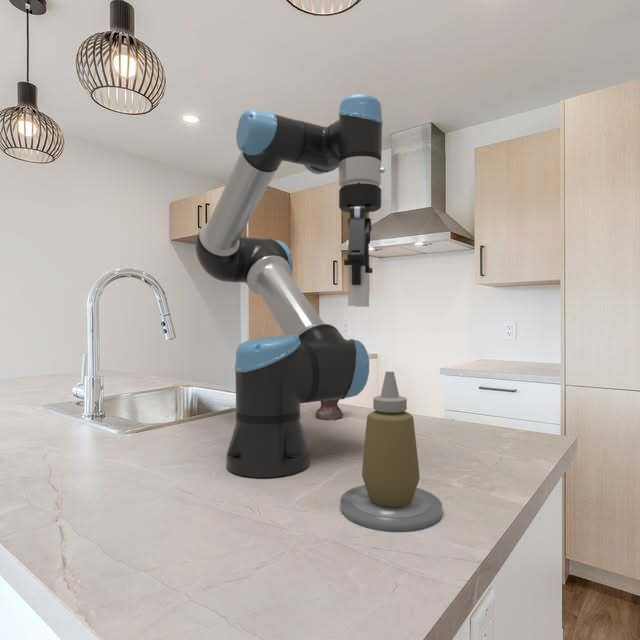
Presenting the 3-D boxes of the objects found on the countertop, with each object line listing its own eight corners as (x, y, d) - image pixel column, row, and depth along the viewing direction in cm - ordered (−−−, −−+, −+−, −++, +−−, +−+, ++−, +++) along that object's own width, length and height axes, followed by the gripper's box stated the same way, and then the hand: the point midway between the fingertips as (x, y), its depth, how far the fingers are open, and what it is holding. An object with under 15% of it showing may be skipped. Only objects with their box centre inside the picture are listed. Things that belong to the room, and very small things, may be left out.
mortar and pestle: (298, 415, 126) (298, 343, 126) (319, 411, 132) (318, 341, 132) (331, 422, 118) (330, 344, 118) (351, 416, 125) (350, 343, 125)
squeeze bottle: (358, 490, 68) (357, 369, 68) (412, 489, 68) (411, 368, 68) (366, 513, 60) (364, 375, 60) (427, 511, 60) (426, 375, 60)
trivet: (337, 529, 58) (337, 520, 58) (342, 488, 72) (342, 481, 72) (451, 533, 57) (451, 524, 57) (433, 491, 71) (433, 484, 71)
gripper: (379, 164, 69) (378, 305, 70) (382, 203, 94) (382, 306, 94) (330, 166, 70) (329, 305, 71) (346, 204, 95) (345, 306, 95)
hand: (359, 306), depth 82 cm, fingers open, 13 cm apart
